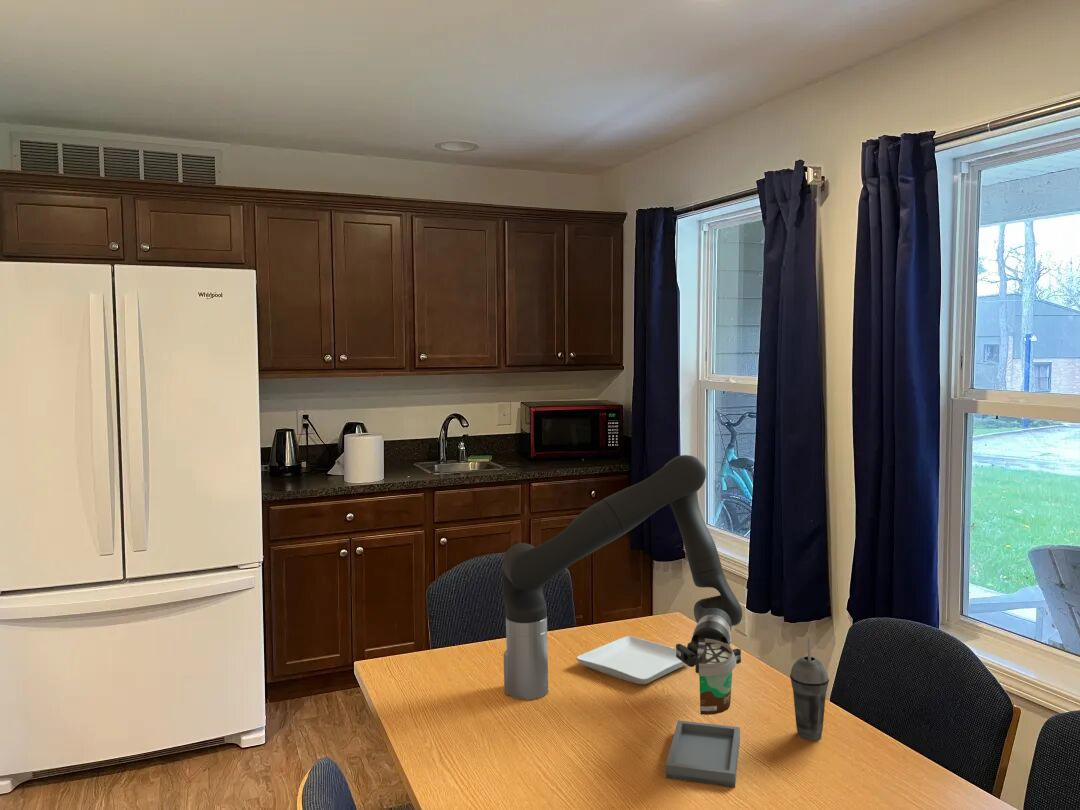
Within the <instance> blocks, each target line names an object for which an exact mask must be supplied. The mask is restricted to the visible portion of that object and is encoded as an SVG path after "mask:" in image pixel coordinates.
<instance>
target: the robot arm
mask: <svg viewBox="0 0 1080 810" xmlns="http://www.w3.org/2000/svg"><path fill="white" fill-rule="evenodd" d="M706 476H707V469H706V466H705V463H703V462H702V461H701V460H700V459H699V458H698V457H696V456H692V455H688V454H684V455H683V454H682V455H678V456H675V457H674V458H672V459H670V460H669V461H668V462H667V463H665V464H664V466H663V467H661V468H660V469H659V470H657V471H655V472H654V473H653V474H652V475H649V477H647V478H645V479H644V480H642V481H639V482H638V483H635V484H633V485H631V486H627V487H625V488H623V489H622V490H619V491H617V492H615V493H612V494H610V495H608V496H606V497H604V498H602V499H601V500H599V501H598V502H595V503H593V504H592V505H590V506H589V507H588V508H586V509H585V510H583V511H582V512H580V514H579V515H577V517H575V518H574V520H572V521H571V523H570V524H569V525H568V526H567V527H566V528H565V529H564V530H563V531H562V532H560V533H559V534H558V535H556V536H555V537H553V538H551V539H549V540H547V541H545V542H544V543H541V544H538V545H537V546H534V545H532V544H530V543H525V542H520V543H515V544H514V545H512V546H511V547H509V548H508V549H507V550H506V551H505V554H504V556H503V559H502V563H501V565H502V567H501V570H502V572H501V575H502V594H503V604H504V609H505V631H506V632H505V633H506V634H505V635H506V637H505V639H506V649H505V651H504V652H503V684H504V685H503V687H504V689H503V690H504V695H505V694H508V695H507V696H510V697H512V698H514V699H517V698H518V700H523V699H529V700H536V698H537V699H540V698H543V697H544V695H545V696H546V695H547V694H548V692H549V662H548V659H549V658H548V655H549V653H548V616H547V615H548V613H547V608H548V607H547V603H546V599H545V595H544V588H543V586H544V585H545V584H547V583H548V582H550V581H551V580H552V579H554V578H555V577H556V576H557V575H559V574H560V573H562V572H563V571H564V570H566V569H567V568H569V567H570V566H571V565H573V564H575V563H576V562H578V561H580V560H582V559H584V558H585V557H587V556H589V555H591V554H592V553H594V552H596V551H597V550H599V549H601V548H602V547H605V546H607V545H609V544H610V543H612V542H614V541H616V540H617V539H619V538H620V537H622V536H624V535H625V534H627V533H629V532H630V531H631V530H633V529H635V528H636V527H637V526H638V525H640V524H641V523H642V522H644V521H645V520H647V519H648V518H649V517H651V516H652V515H653V514H654V513H656V512H658V511H659V510H660V509H661V508H663V507H665V506H667V505H670V507H671V510H672V513H673V515H674V518H675V520H676V523H677V526H678V528H679V532H680V536H681V539H682V543H683V546H684V550H685V554H686V557H687V558H686V559H687V561H688V565H689V569H690V573H691V577H692V581H693V583H694V585H695V586H696V587H698V588H712V589H715V590H716V591H717V592H718V593H719V594H720V595H715V596H710V597H705V598H702V599H699V600H698V601H697V602H695V603H694V606H693V615H694V619H695V621H696V624H695V627H694V631H693V634H692V637H691V641H690V642H688V643H687V645H683V644H681V643H676V644H675V648H676V657H677V658H678V659H679V660H681V661H682V662H684V663H685V664H686V665H685V666H688V667H690V668H693V667H695V673H696V674H699V664H701V661H702V656H703V652H704V648H705V639H712V640H717V641H720V642H723V643H725V644H727V645H728V646H730V647H731V641H732V627H734V626H737V625H739V624H740V623H741V622H742V618H743V609H742V606H741V604H740V601H739V600H738V598H737V597H736V595H735V594H734V592H733V590H732V589H731V587H730V585H729V583H728V581H727V579H726V576H725V572H724V571H723V566H722V562H721V559H720V556H719V552H718V549H717V546H716V542H715V541H714V539H713V536H712V534H711V532H710V530H709V529H708V526H707V524H706V522H705V520H704V518H703V517H704V516H703V514H702V512H701V509H700V503H699V498H698V491H699V490H700V489H701V488H702V487H703V485H704V483H705V481H706ZM732 650H733V652H734V655H735V659H736V665H739V664H740V663H742V650H741V648H734V649H732Z"/></svg>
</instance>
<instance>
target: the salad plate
mask: <svg viewBox="0 0 1080 810" xmlns="http://www.w3.org/2000/svg"><path fill="white" fill-rule="evenodd" d="M576 661H577V662H579V663H580V664H581V665H583V666H585V667H587V668H590V669H593V670H595V671H597V672H599V673H602V674H604V675H605V674H606V675H608V676H612V677H614V678H617V679H621V680H624V681H626V682H628V683H629V682H630V683H632V684H635V685H636V684H638V685H645V684H649V683H651V682H653V681H655V680H657V679H659V678H661V677H663V676H665V675H667V674H669V673H671V672H673V671H675V670H678V669H680V668H682V667H685V666H687V665H686V664H685V663H684V662H682V661H681V660H679V659H678V658H677V657H676V647H671V646H670V645H665V644H662V643H658V642H654V641H651V640H648V639H647V640H646V639H642V638H640V637H635V636H632V635H627V636H623V637H621V638H619V639H616V640H613V641H610V642H609V643H606V644H603V645H601V646H598V647H596V648H593V649H591V650H590V651H587V652H584V653H581V654H580V655H578V656H576Z"/></svg>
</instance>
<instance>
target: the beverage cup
mask: <svg viewBox="0 0 1080 810" xmlns="http://www.w3.org/2000/svg"><path fill="white" fill-rule="evenodd" d="M811 643H812V639H811V637H810V636H809V637H807V656H802V657H800V658H798V659H797V660H796V661H795V662H794V663H793V665H792V667H791V669H790V675H789V678H790V684H791V687H792V694H793V703H794V705H793V706H794V714H795V715H794V717H795V726H796V730H797V731H796V732H797V733H796V734H797V736H798V737H799V738H800V739H802V740H804V739H805V741H808V742H810V741H811V742H816V741H820V740H821V739H822V734H823V729H824V719H825V718H824V717H825V708H826V707H825V706H826V697H827V691H828V686H829V683H830V678H829V673H828V671H827V668H826V666H825V665H824V663H823V662H822V661H821V660H819V659H818V658H816V657H813V656H812V654H811V653H812V652H811V651H812V650H811V649H812V646H811V645H812V644H811Z"/></svg>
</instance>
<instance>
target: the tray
mask: <svg viewBox="0 0 1080 810" xmlns="http://www.w3.org/2000/svg"><path fill="white" fill-rule="evenodd" d="M740 742H741V727H739V726H733V725H722V724H713V723H704V722H694V721H688V720H677V722H676V727H675V730H674V733H673V736H672V741H671V743H670V748H669V751H668V754H667V759H666V762H665V779H671V780H678V781H684V782H692V783H699V784H707V785H714V786H723V787H730V788H736V780H737V773H738V771H737V770H738V761H739V752H740Z"/></svg>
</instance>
